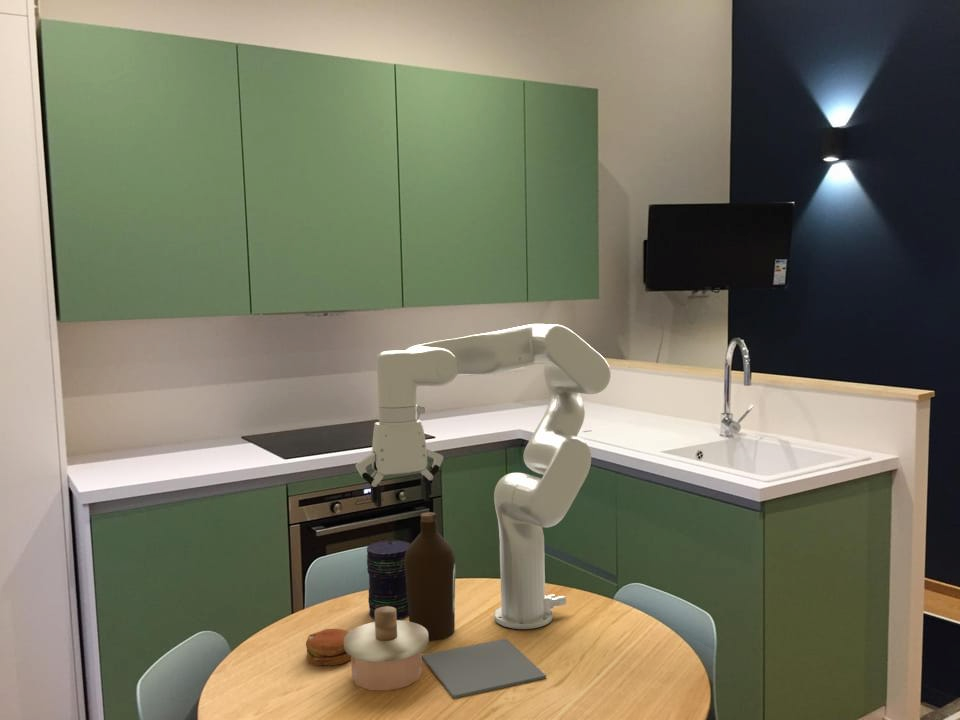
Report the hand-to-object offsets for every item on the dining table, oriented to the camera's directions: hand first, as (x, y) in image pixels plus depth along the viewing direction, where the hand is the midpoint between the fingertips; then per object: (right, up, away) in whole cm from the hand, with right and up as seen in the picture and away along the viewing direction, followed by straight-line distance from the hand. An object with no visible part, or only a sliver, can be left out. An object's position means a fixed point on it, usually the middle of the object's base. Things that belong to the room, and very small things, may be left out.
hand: (401, 502), depth 162 cm
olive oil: (+5, -29, +13) cm, 33 cm away
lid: (-2, -25, -7) cm, 26 cm away
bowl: (-2, -31, -6) cm, 32 cm away
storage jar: (-5, -29, +24) cm, 38 cm away
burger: (-14, -31, +2) cm, 34 cm away
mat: (+16, -30, -5) cm, 34 cm away
